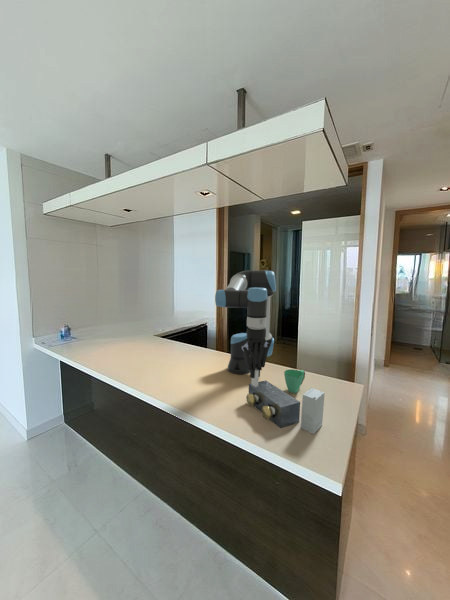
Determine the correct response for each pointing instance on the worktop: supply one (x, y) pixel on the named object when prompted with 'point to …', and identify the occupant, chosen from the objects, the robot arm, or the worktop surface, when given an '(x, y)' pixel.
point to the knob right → (268, 411)
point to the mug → (294, 379)
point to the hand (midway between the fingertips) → (254, 384)
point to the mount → (277, 403)
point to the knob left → (252, 399)
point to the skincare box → (312, 410)
